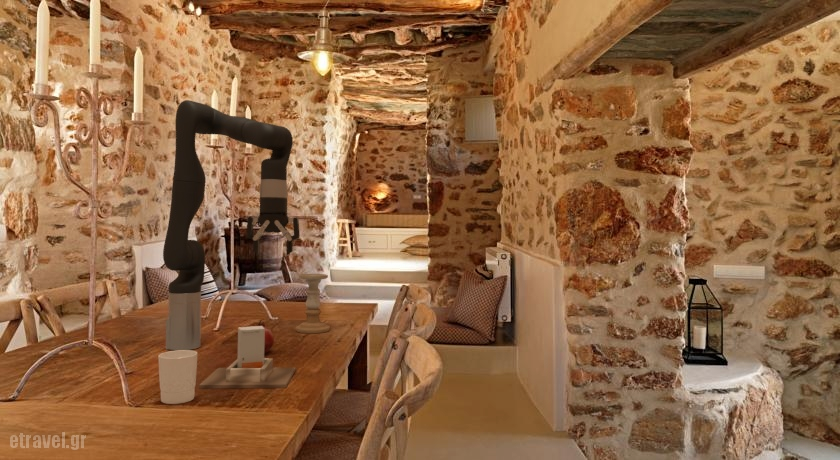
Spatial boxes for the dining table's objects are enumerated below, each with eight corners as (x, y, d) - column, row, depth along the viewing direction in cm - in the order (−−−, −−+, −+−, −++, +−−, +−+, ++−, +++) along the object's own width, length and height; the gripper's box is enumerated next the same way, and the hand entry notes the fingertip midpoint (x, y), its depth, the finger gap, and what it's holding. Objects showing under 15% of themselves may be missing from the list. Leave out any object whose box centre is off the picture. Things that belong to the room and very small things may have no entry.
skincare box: (239, 379, 137) (239, 330, 137) (237, 374, 141) (237, 327, 141) (264, 376, 140) (265, 328, 140) (261, 372, 144) (262, 325, 143)
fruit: (240, 357, 162) (240, 323, 162) (243, 350, 172) (243, 317, 172) (273, 356, 164) (273, 322, 164) (274, 349, 174) (274, 317, 174)
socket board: (198, 388, 132) (198, 372, 132) (218, 370, 148) (218, 356, 148) (285, 387, 133) (285, 371, 133) (295, 370, 149) (295, 355, 149)
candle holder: (326, 334, 199) (327, 276, 198) (291, 333, 199) (292, 276, 199) (332, 327, 211) (333, 273, 211) (299, 327, 211) (300, 273, 211)
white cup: (172, 407, 118) (173, 360, 118) (150, 401, 122) (150, 355, 122) (204, 398, 125) (205, 353, 125) (182, 392, 129) (182, 348, 129)
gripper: (244, 195, 154) (243, 254, 154) (297, 196, 155) (296, 255, 155) (250, 196, 161) (250, 253, 161) (301, 197, 162) (300, 253, 162)
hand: (273, 254), depth 158 cm, fingers open, 8 cm apart
